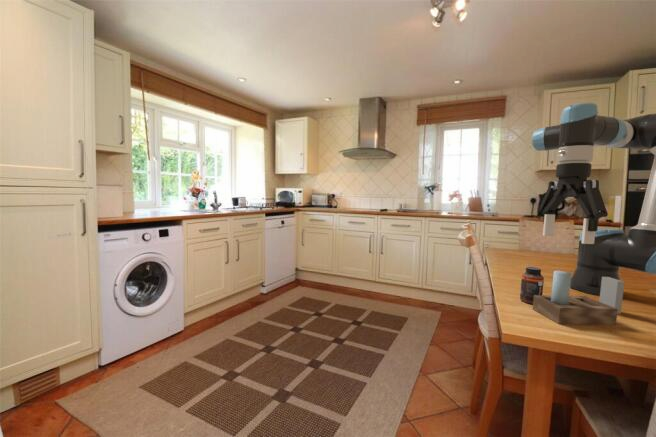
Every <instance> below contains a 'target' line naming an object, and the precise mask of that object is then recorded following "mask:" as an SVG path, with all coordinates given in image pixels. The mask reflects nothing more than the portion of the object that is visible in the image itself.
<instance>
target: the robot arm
mask: <svg viewBox="0 0 656 437" xmlns="http://www.w3.org/2000/svg"><path fill="white" fill-rule="evenodd" d="M531 144H532V148H534V149H535V150H536V151H541V152H543V151H545V152H546V151H547V152H548V151H552V150H553V151H554V150H558V151H557V160H556V162H557V163H558V164H557V165H556V166H555V177H556V178H558V180H557V181H554V180H553V181H549V182H548V186H547V190H546V192H545V195H544V196H543V199H542V201H541V203H540V205H539V207H538V212H542V214H543V218H542V220H543V221H542V222H543V228H542V229H543V230H542V236H544V237H553V236H554V232H555V222H556V221H555V220H556V213H555V211H556V210H557V209H558V208H559V206H560V205H561V204H562V203H563V201H564V200H565V199H567V198H574V199H576V201H577V202H578V205H579V206H580V208H581V209H582V211H583V213H584V214H585V216H584V218H583V222H582V223H583V225H582V231H581V232H580V233H579V234H580V235H579V239H578V248H577V249H578V250H577V251H578V252H577V259H576V260H577V261H576V268H575V269H574V272H573V273H572V274H571V283H570V289H573V290H576V291H579V292H582V293H587V294H590V295H596V296H600V290H601V281H602V277H611V278H614V279H617V280H621V277H620V274H619V270H620V268H622V269H628V270H632V271H633V270H634V271H638V272H641V273H643V272H644V273H647V274H649V275H656V113H650V114H649V113H648V114H644V115H639V116H634V117H632V118H628V119H623V120H622V119H620V118H616V117H614V116H606V115H605V116H604V115H599V112H598V105H597V104H596V103H592V102H585V103H584V102H583V103H581V102H580V103H576V104H571V105H568V106H566V107H564V108H563V110H562V112H561V116H560V121H559V124H556V125H550V126H545V127H542V128H538V129H536V130H535V131H534V132H533V134H532V137H531ZM596 147H597V148H598V147H606V148H607V149H608V148H609V149H629V150H630V149H631V150H634V149H635V150H637V149H638V150H639V149H641V150H642V149H644V150H645V149H649V152H650V153H651V154H653V155H654V158H653V162H652V166H651V170H650V174H649V178H648V182H647V185H646V186H647V187H646V190H645V193H644V194H645V195H644V199H643V202H642V206H641V211H640V214H639V218H638V221H637V224H636V225H634V226H632V227H630V228H629V231H628V233H625V231H624V230H623V229H621V228H618V229H615V228H614V229H612V228H609V229H607V228H605V229H604V228H603V229H599V228H598V227H599V219H601V218H607V217H608V215H609V213H608V210H607V207H606V206H605V202H604V199H603V197H602V194H601V190H600V182H599V181H600V180H598V179H588V178H589V177H591V174H592V167H593V166H592V164H591V162H592V161H593V156H594V148H596Z"/></svg>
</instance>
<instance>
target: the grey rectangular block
mask: <svg viewBox="0 0 656 437" xmlns="http://www.w3.org/2000/svg"><path fill="white" fill-rule="evenodd" d="M624 288H625V281H624V280H621V279H620V280H617V279H614V278H611V277H602V281H601V290H600V295H599V298H598V299H599V300H598V301H599V302H601V303H604V304H607V305H609V306H612V307H614V308H617V309H618V311H617V315H621V312H622V304H623V298H624Z"/></svg>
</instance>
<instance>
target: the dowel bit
mask: <svg viewBox="0 0 656 437" xmlns="http://www.w3.org/2000/svg"><path fill="white" fill-rule="evenodd" d="M552 276H553V277H552V286H551V302H553V303H555V304H557V305H568V302H569V296H570V294H571V293H570V291H571V287H570V283H571V278H572V272H568V271H565V270H564V271H563V270H554V271H553V275H552Z"/></svg>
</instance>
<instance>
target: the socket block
mask: <svg viewBox="0 0 656 437" xmlns="http://www.w3.org/2000/svg"><path fill="white" fill-rule="evenodd" d="M532 310H533V311H534V312H537V313H538V314H540V315H542V316H544V317H546V318H547V319H549V320H551V321H553V322H554V323H556V324H558V325H593V326H594V325H599V326H601V325H604V326H616V325H617V317H618V314H617V311H618V309H617V308H614V307H612V306H609V305H607V304H604V303H601V302H599V300H596V299H593V298H591V297H589V296H587V295H569V302H568V305H557V304H555V303H553V302H551V295H550V294H548V295H546V294H545V295H544V294H542V295H534V299H533V304H532Z"/></svg>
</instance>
